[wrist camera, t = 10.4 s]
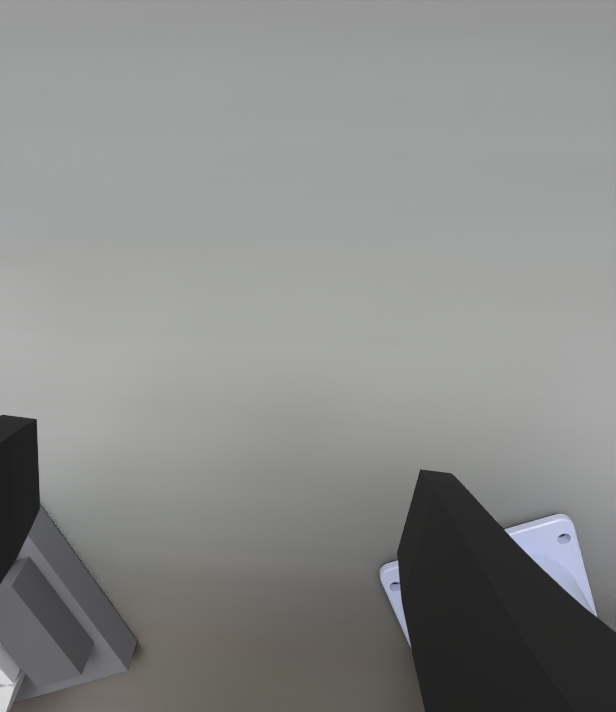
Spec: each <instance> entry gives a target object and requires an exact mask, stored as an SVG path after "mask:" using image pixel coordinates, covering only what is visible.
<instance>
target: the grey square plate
mask: <svg viewBox="0 0 616 712" xmlns="http://www.w3.org/2000/svg"><path fill="white" fill-rule="evenodd" d="M136 643H137V640H136V639H135V637H134V636H133V634H132V633H131V632H130V630H129V629H128V627H127V626H126V624H125V623H124V622H123V620H122V619H121V617H120V616H119V615H118V613H117V612H116V610H115V609H114V608H113V606H112V605H111V603H110V602H109V600H108V599H107V598H106V596H105V595H104V593H103V592H102V591H101V589H100V588H99V586H98V585H97V584H96V582H95V581H94V579H93V578H92V577H91V575H90V574H89V572H88V571H87V569H86V568H85V567H84V565H83V564H82V562H81V561H80V560H79V558H78V557H77V555H76V554H75V553H74V551H73V550H72V548H71V547H70V545H69V544H68V543H67V541H66V540H65V538H64V537H63V536H62V534H61V533H60V531H59V530H58V529H57V527H56V526H55V524H54V523H53V522H52V520H51V519H50V517H49V516H48V514H47V513H46V512H45V510H44V509H43V507H42V506H41V505H40V510H39V512H38V514H37V517H36V519H35V521H34V523H33V525H32V528H31V530H30V532H29V534H28V536H27V538H26V540H25V542H24V544H23V546H22V548H21V550H20V553H19V555H18V557H17V558H16V560H15V562H14V563H13V565H12V566H11V568H10V570H9V571H8V573H7V574H6V576H5V577H4V579H3V581H2V582H1V584H0V712H9V710H10V708H11V706H12V704H13V703H15V702H19V701H23V700H26V699H30V698H33V697H37V696H40V695H44V694H47V693H51V692H54V691H58V690H61V689H65V688H69V687H72V686H76V685H79V684H83V683H86V682H90V681H93V680H97V679H100V678H104V677H108V676H111V675H115V674H118V673H122V672H125V671H128V669H129V666H130V663H131V659H132V656H133V653H134V650H135V646H136Z"/></svg>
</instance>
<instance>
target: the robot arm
mask: <svg viewBox="0 0 616 712" xmlns="http://www.w3.org/2000/svg"><path fill="white" fill-rule="evenodd" d="M39 510H40V495H39V470H38V444H37V419H30V418H23V417H15V416H7V415H1V416H0V584H1V582H2V581H3V579H4V577H5V576H6V574H7V573H8V571H9V570H10V568H11V566H12V565H13V563H14V562H15V560H16V558H17V557H18V555H19V553H20V550H21V548H22V546H23V544H24V542H25V540H26V538H27V536H28V534H29V532H30V530H31V528H32V525H33V523H34V521H35V519H36V517H37V514H38V512H39ZM562 534H565V535H564V536H562V537H559V536H560V535H562ZM397 554H398V560H397V561H394V562H390V563H387V564H385V565H383V566H382V567H381V568H380V571H379V573H380V580H381V583H382V585H383V587H384V589H385V591H386V594H387V596H388V598H389V600H390V603H391V605H392V607H393V609H394V612H395V614H396V616H397V618H398V621H399V623H400V625H401V627H402V630H403V632H404V634H405V636H406V638H407V641H408V643H409V645H410V647H411V650H412V653H413V658H414V663H415V667H416V672H417V676H418V681H419V685H420V690H421V694H422V699H423V703H424V708H425V712H616V633H615V632H614V631H613V630H612V629H611V628H609V627H608V626H607V625H606V624H604V623H603V622H602V621H601V620H600V619H598V618H597V614H596V610H595V606H594V602H593V598H592V594H591V590H590V587H589V583H588V579H587V575H586V571H585V567H584V563H583V559H582V555H581V551H580V548H579V544H578V540H577V536H576V532H575V528H574V525H573V523H572V521H571V520H570V518H569V517H568V516H567V515H565V514H555V515H552V516H548V517H545V518H541V519H538V520H535V521H531V522H528V523H524V524H521V525H517V526H514V527H511V528H507V529H503V528H502V527H501V526H500V525H499V524H498V523H497V522H496V521H495V519H494V518H493V517H492V516H491V515H490V514H489V513H488V512H487V511H486V510H485V509H484V507H483V506H482V505H481V504H480V503H479V502H478V501H477V500H476V499H475V498H474V496H473V495H472V494H471V493H470V492H469V491H468V490H467V489H466V488H465V487H464V486H463V485H462V484H461V482H460V481H459V480H458V479H457V478H456V477H455V476H454V475H453V474H451V473H444V472H436V471H428V470H421V469H420V473H419V476H418V480H417V483H416V487H415V491H414V494H413V498H412V501H411V505H410V509H409V512H408V516H407V519H406V523H405V526H404V530H403V534H402V537H401V541H400V544H399V548H398V552H397ZM393 582H399V583H398V584H392V583H393Z"/></svg>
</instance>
